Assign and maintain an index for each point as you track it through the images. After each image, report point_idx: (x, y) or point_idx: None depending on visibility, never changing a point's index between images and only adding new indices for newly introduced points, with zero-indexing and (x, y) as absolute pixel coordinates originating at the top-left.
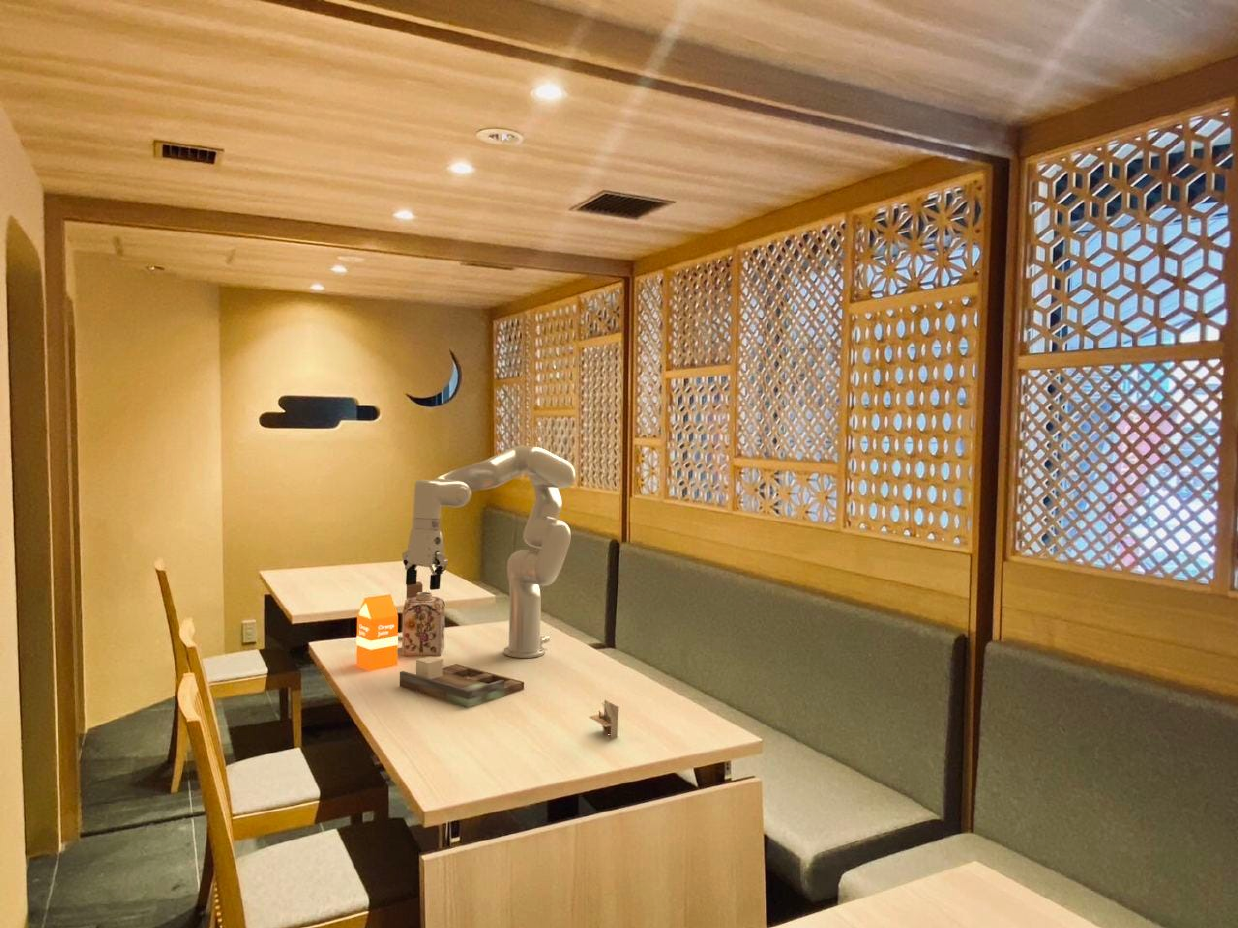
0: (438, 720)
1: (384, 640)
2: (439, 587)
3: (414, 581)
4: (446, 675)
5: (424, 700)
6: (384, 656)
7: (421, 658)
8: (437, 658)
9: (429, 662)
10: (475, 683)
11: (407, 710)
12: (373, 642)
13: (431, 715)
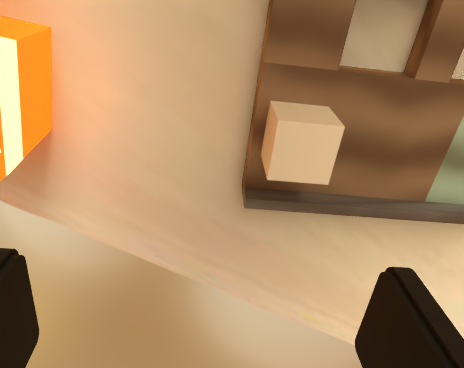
0: (452, 280)
1: (7, 114)
2: (410, 277)
3: (13, 289)
4: (336, 95)
5: (362, 221)
6: (35, 92)
7: (272, 159)
8: (321, 129)
9: (326, 178)
10: (460, 107)
11: (365, 275)
12: (11, 161)
13: (426, 270)
